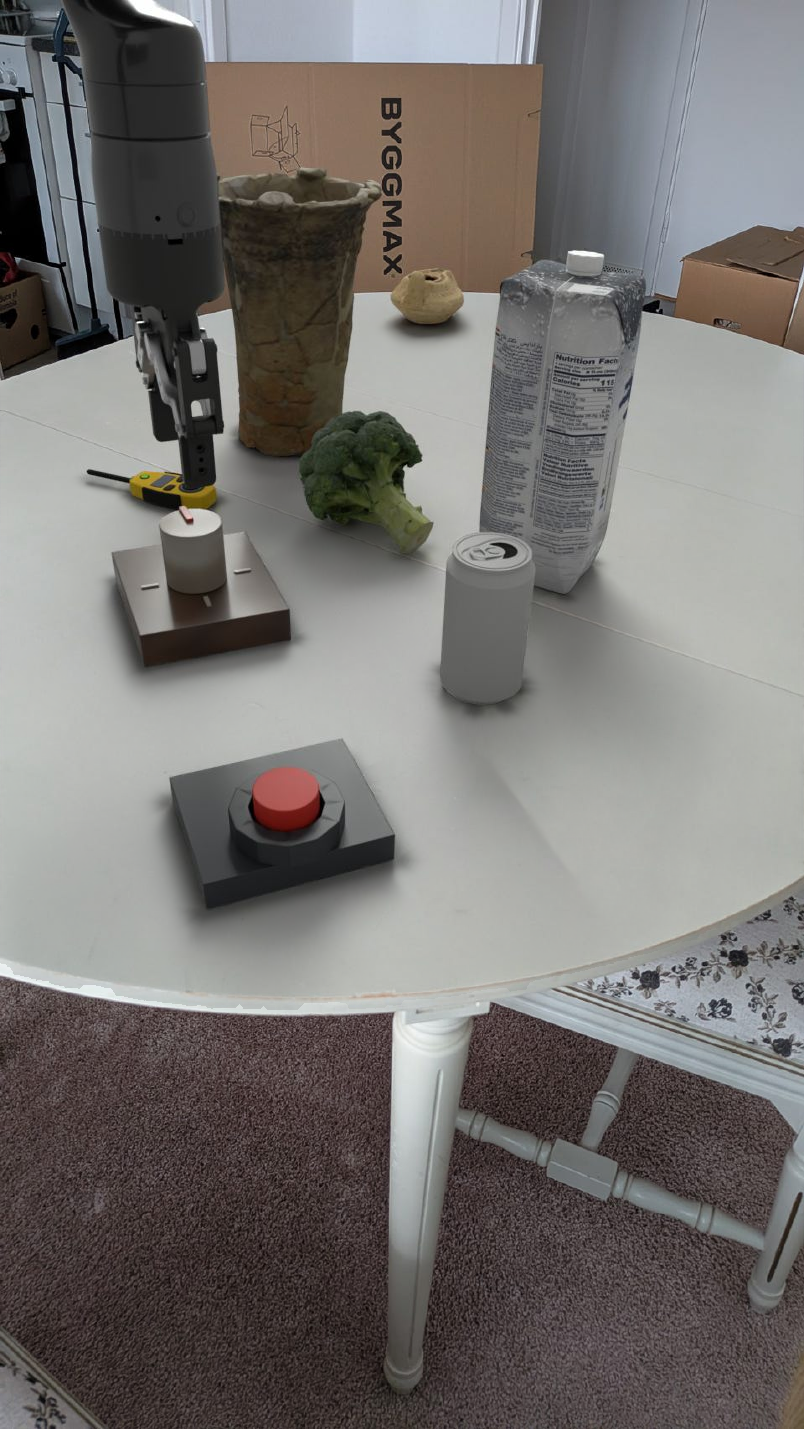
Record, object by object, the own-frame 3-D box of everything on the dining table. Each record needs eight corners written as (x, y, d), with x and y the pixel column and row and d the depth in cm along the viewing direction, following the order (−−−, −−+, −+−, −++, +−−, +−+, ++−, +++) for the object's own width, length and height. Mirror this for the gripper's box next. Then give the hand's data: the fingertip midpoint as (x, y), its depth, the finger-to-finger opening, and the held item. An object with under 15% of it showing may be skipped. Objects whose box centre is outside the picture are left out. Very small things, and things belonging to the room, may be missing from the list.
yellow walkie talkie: (198, 498, 98) (70, 469, 102) (199, 516, 99) (73, 487, 103) (223, 479, 101) (99, 452, 105) (224, 497, 102) (101, 469, 107)
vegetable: (350, 567, 87) (254, 447, 91) (385, 601, 100) (300, 494, 103) (457, 477, 86) (356, 358, 90) (480, 522, 98) (390, 416, 102)
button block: (208, 915, 59) (201, 868, 56) (172, 801, 66) (165, 756, 64) (397, 864, 63) (398, 818, 60) (343, 762, 70) (342, 717, 68)
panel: (144, 667, 78) (139, 634, 76) (116, 581, 89) (110, 550, 87) (291, 639, 82) (289, 607, 80) (247, 560, 92) (245, 529, 90)
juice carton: (573, 605, 88) (623, 281, 71) (466, 573, 91) (490, 259, 75) (608, 562, 94) (661, 255, 77) (506, 534, 98) (536, 236, 81)
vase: (186, 433, 115) (159, 172, 98) (302, 394, 126) (296, 154, 109) (292, 482, 105) (282, 202, 89) (408, 435, 116) (417, 179, 100)
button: (263, 839, 59) (262, 817, 58) (246, 796, 62) (244, 774, 61) (328, 823, 60) (327, 801, 59) (308, 781, 63) (307, 760, 62)
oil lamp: (468, 306, 158) (472, 252, 153) (457, 335, 146) (461, 278, 141) (400, 301, 159) (402, 247, 154) (384, 329, 147) (385, 272, 142)
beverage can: (535, 700, 76) (554, 563, 69) (459, 718, 74) (470, 578, 67) (498, 656, 81) (513, 522, 74) (426, 671, 79) (433, 535, 72)
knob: (234, 587, 83) (229, 527, 79) (175, 599, 81) (167, 538, 77) (217, 559, 86) (211, 500, 83) (159, 570, 84) (151, 511, 81)
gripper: (76, 195, 66) (111, 432, 76) (123, 245, 56) (155, 511, 66) (188, 191, 69) (207, 420, 78) (252, 237, 58) (265, 494, 68)
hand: (184, 461), depth 72 cm, fingers open, 8 cm apart
